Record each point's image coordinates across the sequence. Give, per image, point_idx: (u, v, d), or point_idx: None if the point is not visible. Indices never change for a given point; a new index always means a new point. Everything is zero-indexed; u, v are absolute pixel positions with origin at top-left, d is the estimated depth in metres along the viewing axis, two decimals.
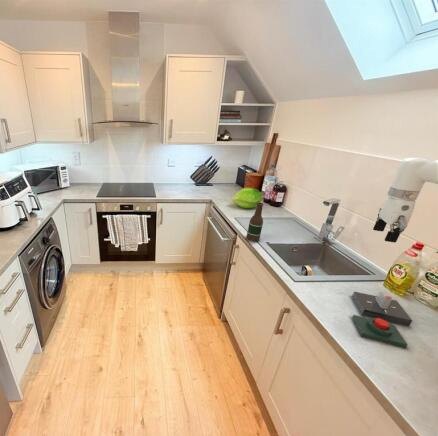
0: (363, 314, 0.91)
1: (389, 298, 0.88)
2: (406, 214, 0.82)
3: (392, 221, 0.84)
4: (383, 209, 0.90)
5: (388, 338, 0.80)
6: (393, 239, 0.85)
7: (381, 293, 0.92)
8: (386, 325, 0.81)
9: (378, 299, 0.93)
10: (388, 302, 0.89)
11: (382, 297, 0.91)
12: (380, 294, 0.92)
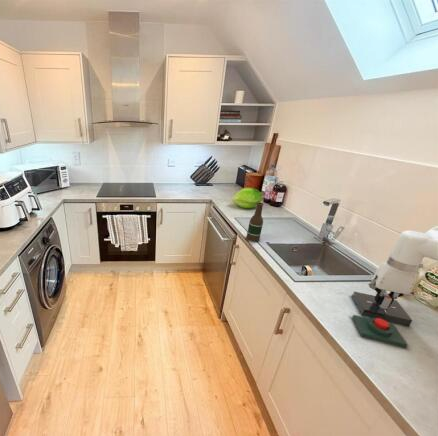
0: (363, 314, 0.91)
1: (389, 298, 0.88)
2: None
3: None
4: (388, 282, 0.86)
5: (388, 338, 0.80)
6: None
7: None
8: (386, 325, 0.81)
9: None
10: (388, 302, 0.89)
11: None
12: None
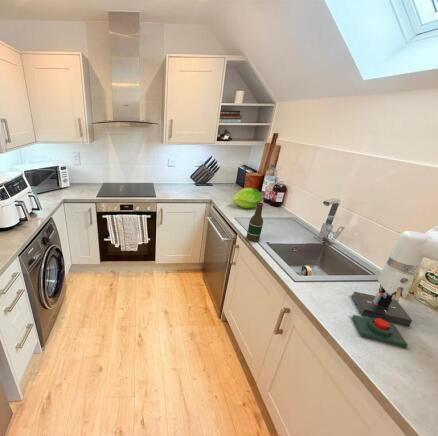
0: (363, 314, 0.91)
1: (379, 293, 0.91)
2: (405, 287, 0.82)
3: (391, 291, 0.85)
4: (382, 275, 0.90)
5: (388, 338, 0.80)
6: (386, 304, 0.89)
7: None
8: (386, 325, 0.81)
9: None
10: (377, 297, 0.91)
11: None
12: None
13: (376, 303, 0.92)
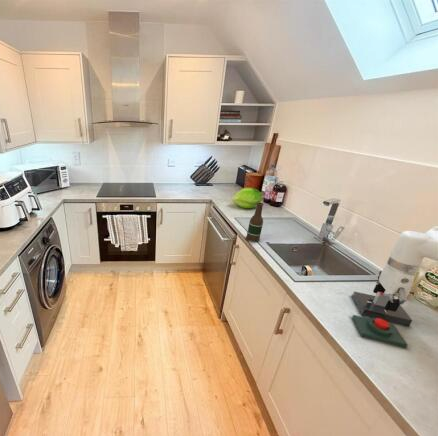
0: (363, 314, 0.91)
1: (379, 293, 0.91)
2: (406, 287, 0.82)
3: (392, 292, 0.85)
4: (382, 275, 0.90)
5: (388, 338, 0.80)
6: (393, 309, 0.86)
7: None
8: (386, 325, 0.81)
9: None
10: (377, 297, 0.91)
11: None
12: None
13: (376, 303, 0.92)
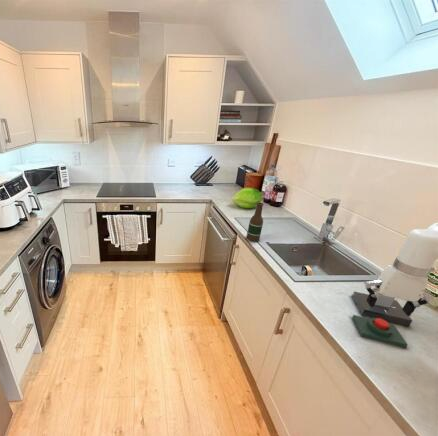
0: (363, 314, 0.91)
1: None
2: None
3: (419, 298, 0.74)
4: (393, 288, 0.76)
5: (388, 338, 0.80)
6: None
7: None
8: (386, 325, 0.81)
9: None
10: (377, 297, 0.91)
11: None
12: None
13: (376, 303, 0.92)
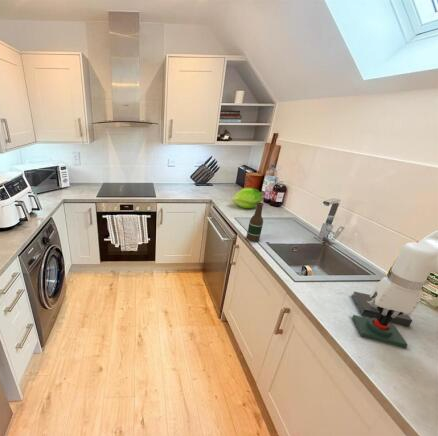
0: (363, 314, 0.91)
1: None
2: None
3: (414, 310, 0.75)
4: (389, 300, 0.77)
5: (388, 338, 0.80)
6: None
7: None
8: None
9: None
10: None
11: None
12: None
13: None
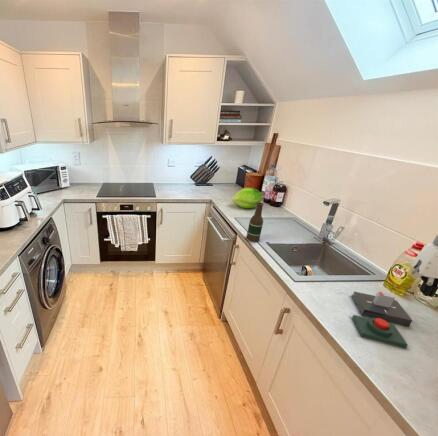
0: (363, 314, 0.91)
1: (379, 293, 0.91)
2: None
3: None
4: (435, 267, 0.71)
5: (388, 338, 0.80)
6: None
7: None
8: (386, 325, 0.81)
9: None
10: (377, 297, 0.91)
11: None
12: None
13: (376, 303, 0.92)
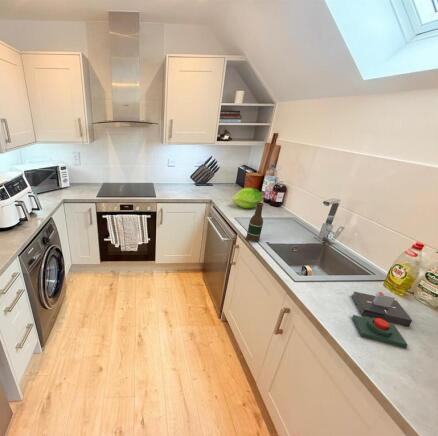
0: (363, 314, 0.91)
1: (379, 293, 0.91)
2: None
3: None
4: None
5: (388, 338, 0.80)
6: None
7: None
8: (386, 325, 0.81)
9: None
10: (377, 297, 0.91)
11: None
12: None
13: (376, 303, 0.92)
